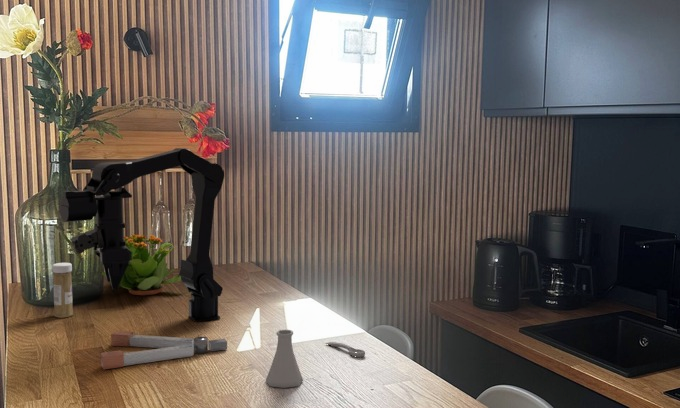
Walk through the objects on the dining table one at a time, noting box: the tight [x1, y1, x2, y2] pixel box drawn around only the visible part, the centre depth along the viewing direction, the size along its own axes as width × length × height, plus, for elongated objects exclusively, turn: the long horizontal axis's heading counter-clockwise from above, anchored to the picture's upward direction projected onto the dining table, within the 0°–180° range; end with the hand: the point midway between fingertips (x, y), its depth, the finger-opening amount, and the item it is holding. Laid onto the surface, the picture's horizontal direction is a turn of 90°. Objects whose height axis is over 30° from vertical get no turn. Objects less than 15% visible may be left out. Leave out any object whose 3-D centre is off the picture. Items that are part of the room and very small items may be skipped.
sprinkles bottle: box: [51, 262, 74, 319], centre depth 168 cm, size 5×5×14 cm
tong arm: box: [110, 330, 209, 355], centre depth 146 cm, size 22×4×3 cm, turn 82°
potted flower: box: [100, 233, 182, 296], centre depth 193 cm, size 25×24×18 cm
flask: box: [265, 329, 304, 389], centre depth 128 cm, size 7×7×10 cm
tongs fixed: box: [100, 338, 228, 370], centre depth 140 cm, size 26×4×3 cm, turn 117°
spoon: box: [325, 341, 366, 358], centre depth 147 cm, size 3×12×2 cm, turn 41°
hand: (112, 285), depth 153 cm, fingers open, 8 cm apart
